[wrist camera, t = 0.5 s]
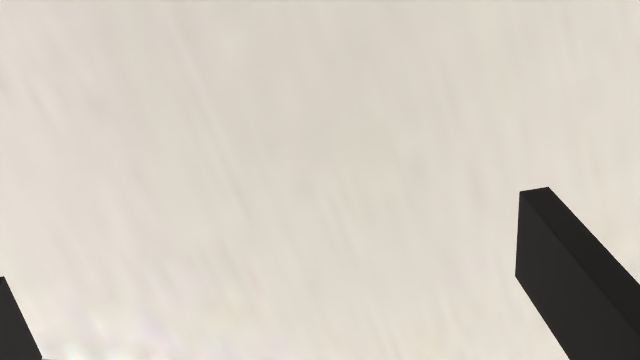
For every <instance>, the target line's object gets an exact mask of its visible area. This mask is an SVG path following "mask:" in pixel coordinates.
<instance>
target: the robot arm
mask: <svg viewBox="0 0 640 360" xmlns="http://www.w3.org/2000/svg"><path fill="white" fill-rule="evenodd" d="M515 277H516V278H517V280H518V281H519V283H520V284H521V286H522V287H523V289H524V290H525V292H526V293H527V295H528V296H529V298H530V299H531V301H532V303H533V304H534V306H535V307H536V309H537V310H538V312H539V313H540V315H541V316H542V318H543V319H544V321H545V322H546V324H547V325H548V327H549V329H550V330H551V332H552V333H553V335H554V336H555V338H556V339H557V341H558V342H559V344H560V345H561V347H562V348H563V350H564V351H565V353H566V354H567V356H568V358H569V359H570V360H640V285H639V284H638V282H637V281H636V280H635V279H634V278H633V277H632V276H631V275H630V274H629V273H628V272H627V271H626V270H625V268H624V267H623V266H622V265H621V264H620V263H619V262H618V261H617V260H616V259H615V258H614V257H613V256H612V255H611V253H610V252H609V251H608V250H607V249H606V248H605V247H604V246H603V245H602V244H601V243H600V242H599V241H598V239H597V238H596V237H595V236H594V235H593V234H592V233H591V232H590V231H589V230H588V229H587V228H586V227H585V226H584V224H583V223H582V222H581V221H580V220H579V219H578V218H577V217H576V216H575V215H574V214H573V213H572V212H571V210H570V209H569V208H568V207H567V206H566V205H565V204H564V203H563V202H562V201H561V200H560V199H559V198H558V197H557V195H556V194H555V193H554V192H553V191H552V190H551V189H550V188H549V187H545V188H539V189H532V190H526V191H520V195H519V214H518V233H517V251H516V270H515ZM41 359H42V355H41V353H40V351H39V349H38V347H37V345H36V343H35V341H34V339H33V336H32V334H31V332H30V330H29V328H28V326H27V324H26V322H25V320H24V317H23V315H22V313H21V311H20V309H19V307H18V305H17V303H16V301H15V298H14V296H13V294H12V292H11V290H10V288H9V286H8V284H7V282H6V279H5V277H4V276H3V277H0V360H41Z"/></svg>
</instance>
